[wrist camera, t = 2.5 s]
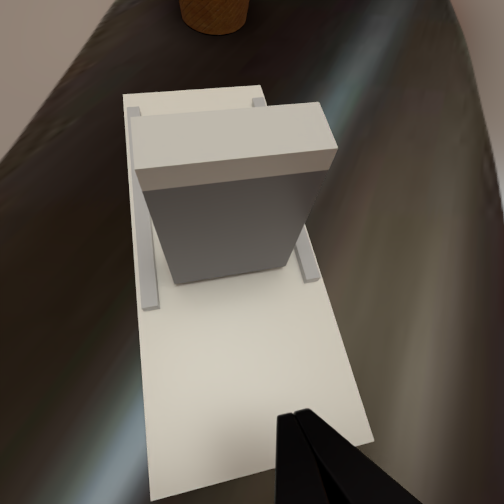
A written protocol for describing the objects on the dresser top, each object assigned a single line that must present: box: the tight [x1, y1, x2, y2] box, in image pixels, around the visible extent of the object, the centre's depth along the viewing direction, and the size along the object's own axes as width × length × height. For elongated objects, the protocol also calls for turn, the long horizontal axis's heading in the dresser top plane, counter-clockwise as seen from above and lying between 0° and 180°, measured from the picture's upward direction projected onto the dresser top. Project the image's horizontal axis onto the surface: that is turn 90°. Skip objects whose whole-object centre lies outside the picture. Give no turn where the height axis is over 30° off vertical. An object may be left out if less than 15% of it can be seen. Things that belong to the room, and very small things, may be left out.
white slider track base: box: [123, 85, 374, 501], centre depth 20 cm, size 24×10×3 cm, turn 12°
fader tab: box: [130, 102, 338, 284], centre depth 14 cm, size 2×6×9 cm, turn 102°
